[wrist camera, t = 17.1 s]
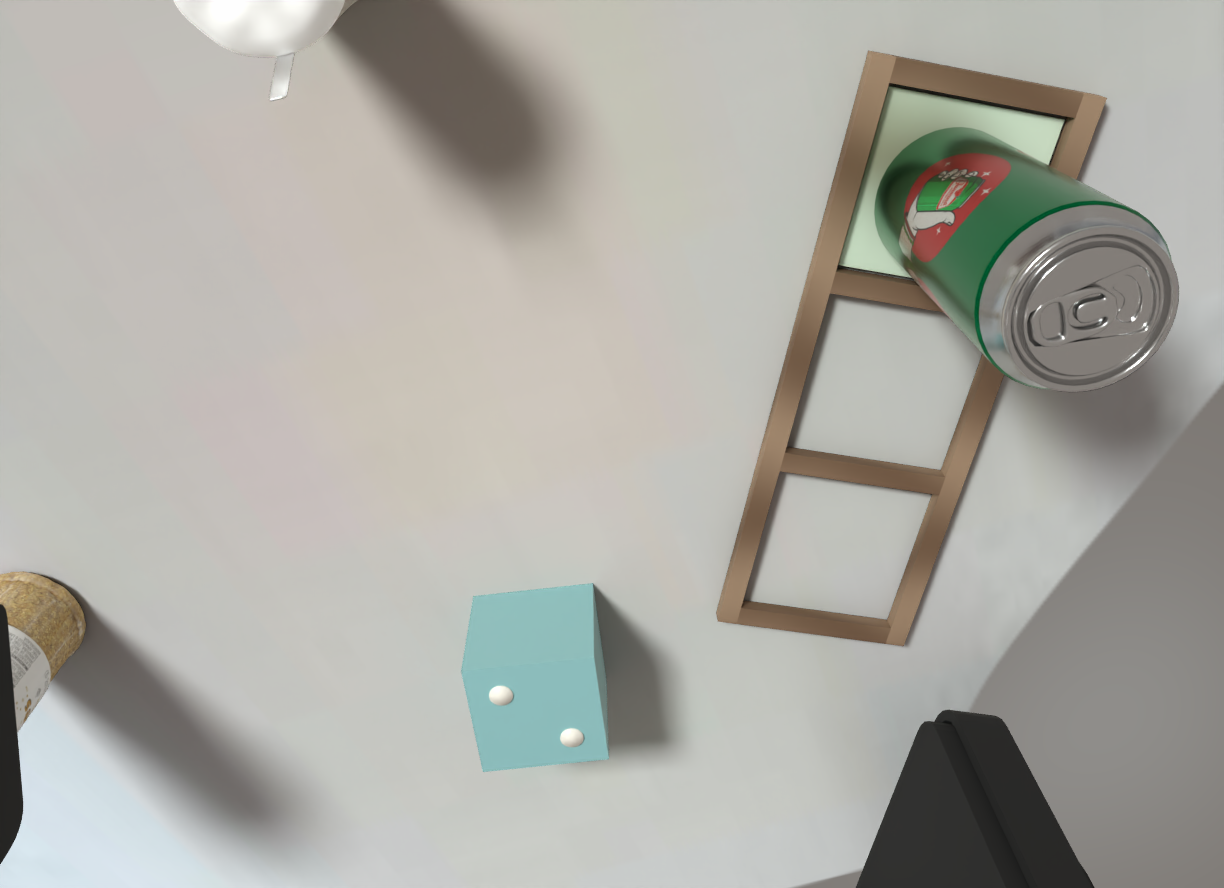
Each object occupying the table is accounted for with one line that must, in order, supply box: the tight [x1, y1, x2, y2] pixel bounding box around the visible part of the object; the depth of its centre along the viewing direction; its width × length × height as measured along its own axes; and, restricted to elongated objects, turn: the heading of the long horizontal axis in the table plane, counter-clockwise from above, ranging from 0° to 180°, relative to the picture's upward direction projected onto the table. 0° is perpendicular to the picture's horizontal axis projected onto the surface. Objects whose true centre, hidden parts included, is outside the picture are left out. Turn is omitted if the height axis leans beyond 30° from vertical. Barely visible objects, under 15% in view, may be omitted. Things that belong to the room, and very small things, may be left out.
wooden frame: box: [716, 51, 1107, 646], centre depth 40 cm, size 23×8×1 cm, turn 170°
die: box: [461, 583, 609, 772], centre depth 43 cm, size 5×5×5 cm
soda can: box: [874, 127, 1179, 392], centre depth 31 cm, size 5×5×12 cm
